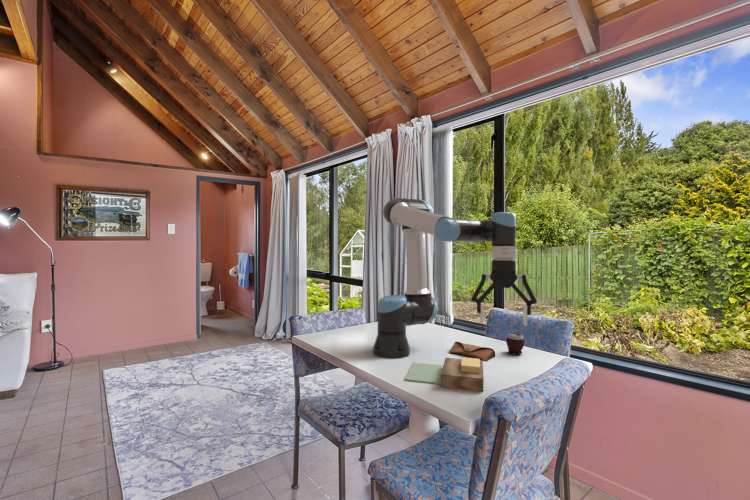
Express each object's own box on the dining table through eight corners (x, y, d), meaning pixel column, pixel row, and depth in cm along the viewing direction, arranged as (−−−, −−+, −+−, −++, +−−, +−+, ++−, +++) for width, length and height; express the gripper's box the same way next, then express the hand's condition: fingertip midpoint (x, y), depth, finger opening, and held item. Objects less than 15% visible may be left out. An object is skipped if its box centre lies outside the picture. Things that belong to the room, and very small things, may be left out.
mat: (404, 380, 124) (404, 379, 124) (413, 363, 142) (413, 362, 142) (441, 384, 121) (441, 382, 121) (445, 366, 139) (445, 365, 139)
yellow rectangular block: (460, 371, 122) (460, 365, 122) (461, 362, 131) (462, 357, 131) (480, 373, 120) (480, 367, 120) (479, 364, 129) (479, 358, 129)
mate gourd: (502, 351, 159) (503, 316, 159) (519, 350, 161) (520, 315, 161) (513, 356, 152) (513, 319, 152) (530, 355, 154) (530, 319, 154)
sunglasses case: (445, 352, 156) (449, 337, 159) (452, 358, 161) (455, 343, 163) (487, 361, 145) (491, 345, 148) (493, 366, 150) (496, 350, 152)
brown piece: (440, 386, 119) (440, 374, 119) (445, 368, 137) (445, 357, 137) (483, 391, 116) (483, 378, 116) (482, 372, 133) (482, 360, 133)
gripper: (464, 259, 123) (464, 324, 123) (546, 260, 117) (546, 328, 117) (464, 258, 130) (464, 319, 130) (542, 259, 124) (541, 323, 124)
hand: (503, 324), depth 124 cm, fingers open, 13 cm apart
